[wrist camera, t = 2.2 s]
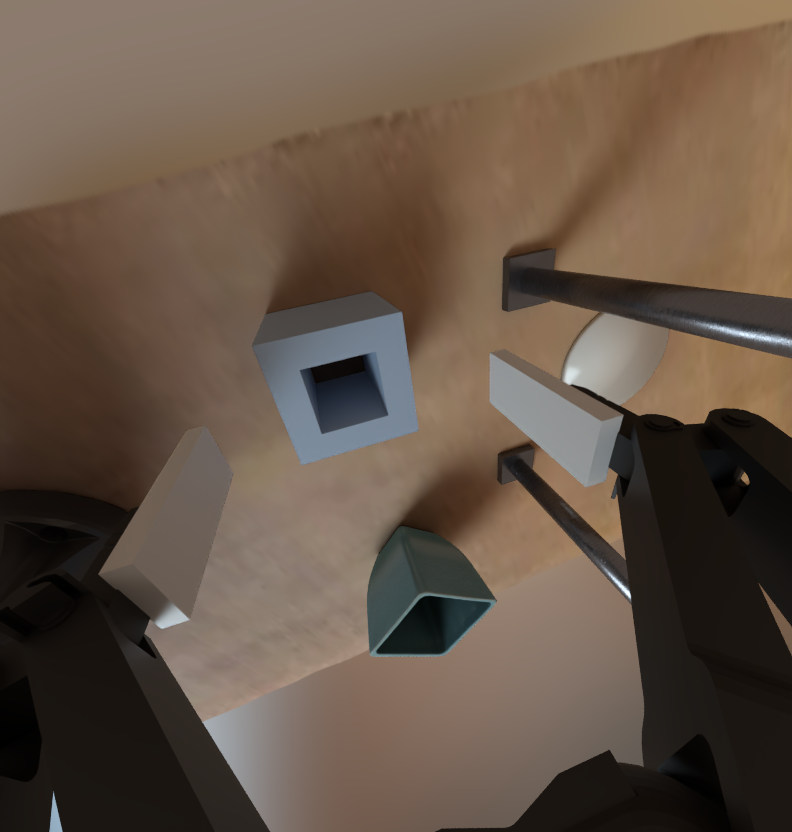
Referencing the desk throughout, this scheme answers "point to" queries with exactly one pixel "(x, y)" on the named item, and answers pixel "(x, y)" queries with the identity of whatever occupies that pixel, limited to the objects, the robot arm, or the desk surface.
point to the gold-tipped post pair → (645, 302)
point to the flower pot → (422, 596)
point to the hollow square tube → (346, 396)
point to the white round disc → (615, 356)
